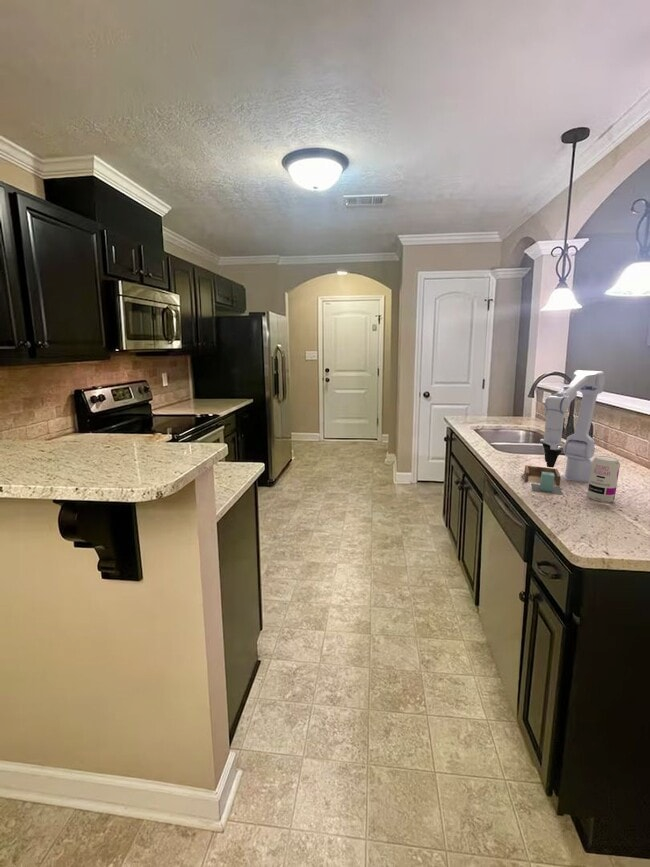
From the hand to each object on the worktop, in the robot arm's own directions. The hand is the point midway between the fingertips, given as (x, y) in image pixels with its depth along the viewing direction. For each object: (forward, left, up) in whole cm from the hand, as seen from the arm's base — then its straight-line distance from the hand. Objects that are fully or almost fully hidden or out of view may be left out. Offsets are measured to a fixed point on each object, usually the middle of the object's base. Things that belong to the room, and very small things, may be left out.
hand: (549, 464), depth 160 cm
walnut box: (+1, -12, -10) cm, 16 cm away
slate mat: (0, +1, -10) cm, 10 cm away
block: (0, +1, -10) cm, 10 cm away
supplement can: (-17, +4, -10) cm, 20 cm away
